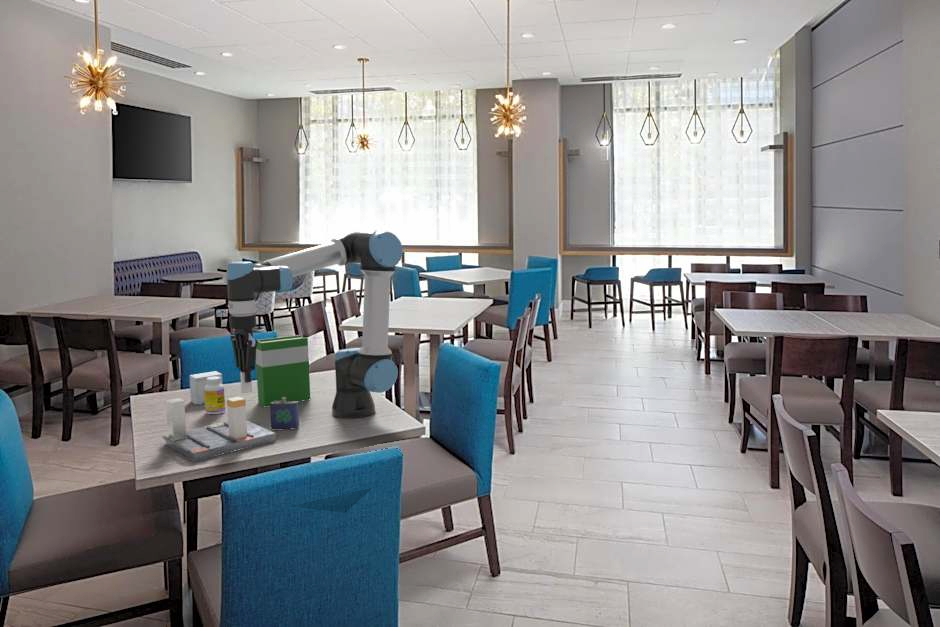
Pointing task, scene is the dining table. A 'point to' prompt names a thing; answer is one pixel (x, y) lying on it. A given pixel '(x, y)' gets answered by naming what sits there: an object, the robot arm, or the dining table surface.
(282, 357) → the hardback book
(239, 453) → the dining table surface
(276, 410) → the flask
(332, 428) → the dining table surface
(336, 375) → the robot arm
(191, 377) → the skincare box
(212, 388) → the supplement bottle
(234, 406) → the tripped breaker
